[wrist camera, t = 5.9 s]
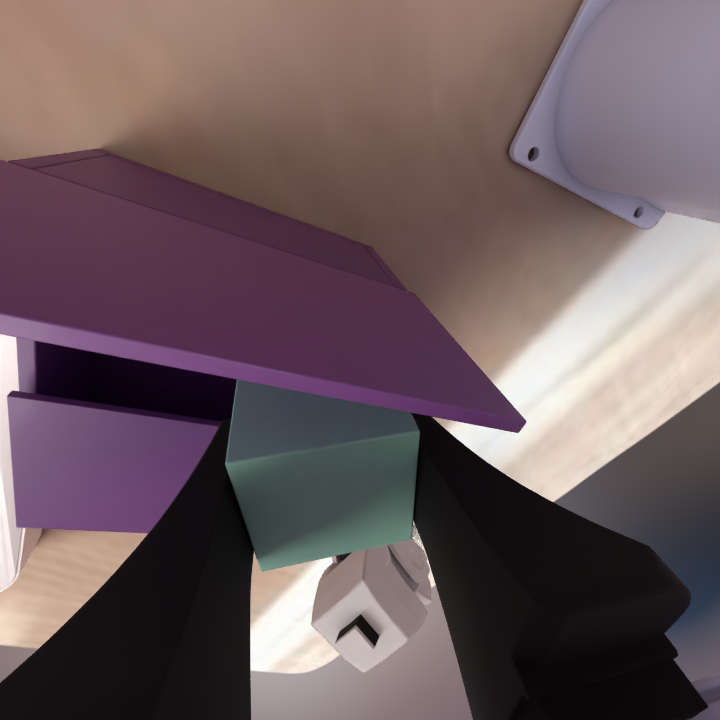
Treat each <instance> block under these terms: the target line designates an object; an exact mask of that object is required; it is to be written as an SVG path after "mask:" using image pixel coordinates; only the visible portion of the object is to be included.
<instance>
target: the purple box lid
mask: <svg viewBox="0 0 720 720" xmlns="http://www.w3.org/2000/svg"><path fill="white" fill-rule="evenodd" d="M0 334H2V335H7V336H12V337H18V338H23V339H28V340H33V341H39V342H44V343H49V344H54V345H60V346H65V347H70V348H75V349H81V350H86V351H91V352H96V353H102V354H107V355H112V356H117V357H122V358H128V359H133V360H138V361H143V362H149V363H154V364H159V365H164V366H170V367H175V368H180V369H185V370H191V371H196V372H201V373H206V374H212V375H217V376H222V377H227V378H233V379H238V380H243V381H248V382H254V383H259V384H264V385H269V386H275V387H280V388H285V389H290V390H296V391H301V392H306V393H311V394H316V395H322V396H327V397H332V398H337V399H343V400H348V401H353V402H358V403H364V404H369V405H374V406H379V407H385V408H390V409H395V410H400V411H406V412H411V413H416V414H421V415H427V416H432V417H437V418H442V419H448V420H453V421H458V422H463V423H469V424H474V425H479V426H484V427H489V428H495V429H500V430H505V431H510V432H516V433H518V432H520V430H521V429H522V428H523V426H524V425H525V423H526V420H525V419H524V418H523V417H522V416H521V415H520V413H519V412H518V411H517V410H516V409H515V408H514V407H513V405H512V404H511V403H510V402H509V401H508V400H507V399H506V397H505V396H504V395H503V394H502V393H501V392H500V391H499V389H498V388H497V387H496V386H495V385H494V384H493V383H492V382H491V380H490V379H489V378H488V377H487V376H486V375H485V374H484V372H483V371H482V370H481V369H480V368H479V367H478V366H477V364H476V363H475V362H474V361H473V360H472V359H471V358H470V356H469V355H468V354H467V353H466V352H465V351H464V350H463V349H462V347H461V346H460V345H459V344H458V343H457V342H456V341H455V339H454V338H453V337H452V336H451V335H450V334H449V333H448V331H447V330H446V329H445V328H444V327H443V326H442V325H441V324H440V322H439V321H438V320H437V319H436V318H435V317H434V316H433V314H432V313H431V312H430V311H429V310H428V309H427V308H426V306H425V305H424V304H423V303H422V302H421V301H420V300H419V298H418V297H417V296H416V295H415V294H414V293H411V292H408V291H405V290H401V289H398V288H395V287H392V286H389V285H386V284H383V283H380V282H377V281H374V280H371V279H367V278H364V277H361V276H358V275H355V274H352V273H349V272H346V271H343V270H340V269H337V268H334V267H330V266H327V265H324V264H321V263H318V262H315V261H312V260H309V259H306V258H303V257H300V256H296V255H293V254H290V253H287V252H284V251H281V250H278V249H275V248H272V247H269V246H266V245H262V244H259V243H256V242H253V241H250V240H247V239H244V238H241V237H238V236H235V235H232V234H229V233H225V232H222V231H219V230H216V229H213V228H210V227H207V226H204V225H201V224H198V223H195V222H191V221H188V220H185V219H182V218H179V217H176V216H173V215H170V214H167V213H164V212H161V211H157V210H154V209H151V208H148V207H145V206H142V205H139V204H136V203H133V202H130V201H127V200H123V199H120V198H117V197H114V196H111V195H108V194H105V193H102V192H99V191H96V190H93V189H90V188H86V187H83V186H80V185H77V184H74V183H71V182H68V181H65V180H62V179H59V178H56V177H52V176H49V175H46V174H43V173H40V172H37V171H34V170H31V169H28V168H25V167H22V166H18V165H15V164H12V163H9V162H6V161H3V160H0Z"/></svg>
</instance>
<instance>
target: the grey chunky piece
mask: <svg viewBox="0 0 720 720" xmlns="http://www.w3.org/2000/svg"><path fill="white" fill-rule="evenodd" d="M332 559H333V563H332V564H331V565H330V566H329V567H328V568H327V569H326V570H325V571H324V573H323V575H322V577H321V579H320V581H319V584H318V588H317V592H316V596H315V601H314V607H313V613H312V622H311V625H312V627H313V628H315V629H316V630H317V631H318V632H319V633H320V634H321V635H322V636H323V637H324V638H325V639H326V640H327V641H328V643H329V644H330V645H331V646H332V647H333V648H334V649H335V650H336V651H337V652H338V653H339V654H340V655H341V656H342V657H343V658H344V659H345V660H346V661H348V662H349V663H351V664H352V665H353V666H355V667H356V668H358V669H359V670H360V671H362V672H363V673H365V672H366V671H368V670H369V669H371V668H372V667H374V666H375V665H377V664H378V663H380V662H381V661H383V660H384V659H385V658H387V657H388V656H389V655H391V654H392V653H393V652H395V651H396V650H397V649H399V648H400V647H401V646H402V645H404V644H405V643H406V642H408V641H409V640H410V639H411V638H412V636H413V635H414V634H415V633H416V632H417V631H418V630H419V628H420V627H421V626H422V625H423V623H424V621H425V618H426V616H427V610H426V607H425V606H426V605H427V604H428V603H430V602H431V585H430V581H429V578H428V574H429V571H430V569H429V566H428V564H427V557H426V555H425V553H424V551H423V550H422V548H421V547H420V546H419V545H418V544H417V543H416V542H415V541H414V540H413V539H411V540H407V541H402V542H398V543H393V544H388V545H384V546H379V547H374V548H370V549H365V550H360V551H355V552H351V553H346V554H341V555H337V556H332Z"/></svg>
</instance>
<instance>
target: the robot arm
mask: <svg viewBox="0 0 720 720" xmlns="http://www.w3.org/2000/svg"><path fill="white" fill-rule="evenodd" d="M531 148H533V149H534V154H533V157H532V158H531V159H530V160H529V159H528V153H529V151H530V150H531ZM509 154H510V157H511V159H512V160H513V161H515V162H516V163H518V164H520V165H522V166H524V167H526V168H528V169H530V170H532V171H533V172H535V173H537V174H539V175H541V176H543V177H545V178H547V179H548V180H550V181H552V182H554V183H556V184H558V185H560V186H562V187H564V188H565V189H567V190H569V191H571V192H573V193H575V194H577V195H579V196H581V197H582V198H584V199H586V200H588V201H590V202H592V203H594V204H596V205H598V206H599V207H601V208H603V209H605V210H607V211H609V212H611V213H613V214H615V215H616V216H618V217H620V218H622V219H624V220H626V221H628V222H630V223H631V224H633V225H635V226H637V227H639V228H642V229H650V228H652V227H654V226H655V225H656V224H657V222H658V221H659V220H660V218H661V217H662V216H663V214H664V213H665V211H666V212H671V213H675V214H680V215H684V216H689V217H693V218H698V219H702V220H707V221H711V222H716V223H720V0H584V1H583V3H582V5H581V7H580V9H579V11H578V13H577V15H576V17H575V19H574V21H573V23H572V25H571V27H570V29H569V31H568V33H567V34H566V36H565V38H564V40H563V42H562V44H561V46H560V48H559V50H558V52H557V54H556V56H555V58H554V60H553V62H552V64H551V66H550V68H549V70H548V72H547V74H546V76H545V78H544V80H543V82H542V84H541V86H540V88H539V90H538V92H537V94H536V96H535V98H534V100H533V102H532V104H531V106H530V108H529V110H528V112H527V114H526V116H525V118H524V120H523V122H522V124H521V126H520V128H519V130H518V132H517V134H516V136H515V138H514V140H513V142H512V144H511V146H510V153H509ZM636 209H637V212H636V213H635V211H636ZM634 213H635V214H634ZM411 414H412V416H413V418H414V420H415V422H416V424H417V426H418V429H419V431H420V436H419V449H418V462H417V475H416V488H415V501H414V514H413V521H414V523H415V525H416V528H417V530H418V533H419V535H420V537H421V540H422V543H423V546H424V548H425V551H426V554H427V557H428V560H429V564H430V567H431V570H432V574H433V577H434V580H435V583H436V587H437V590H438V593H439V597H440V600H441V604H442V607H443V610H444V614H445V617H446V621H447V623H448V628H449V631H450V635H451V638H452V642H453V646H454V649H455V653H456V656H457V660H458V664H459V667H460V671H461V675H462V678H463V683H464V686H465V690H466V694H467V698H468V702H469V706H470V710H471V713H472V717H473V720H720V673H719V674H716V675H713V676H710V677H706V678H703V679H700V680H696V681H693V682H690V681H689V680H688V679H687V677H686V676H685V674H684V673H683V672H682V670H681V669H680V668H679V666H678V665H677V664H676V662H675V661H674V660H673V659H674V658H676V657H677V656H678V653H677V650H676V649H675V647H674V646H673V645H672V643H671V642H670V641H669V639H668V638H667V637H666V635H665V634H664V633H665V632H666V631H667V630H668V629H669V628H670V627H671V626H672V625H673V624H674V623H675V621H677V620H678V619H679V617H680V616H681V615H682V614H683V613H684V612H685V610H686V609H687V608H688V607H689V604H690V600H691V593H690V591H689V590H688V588H687V587H686V586H685V585H684V584H683V583H682V582H681V580H680V579H679V578H678V577H677V576H676V575H675V574H674V573H673V571H672V570H671V569H670V568H669V567H668V566H667V565H666V564H665V562H664V561H663V560H662V559H661V558H660V557H659V556H658V555H657V554H656V553H655V552H654V551H653V550H652V549H651V548H650V547H649V546H647V545H645V544H643V543H640V542H638V541H636V540H633V539H631V538H628V537H626V536H624V535H622V534H619V533H617V532H614V531H612V530H609V529H607V528H605V527H603V526H600V525H598V524H596V523H594V522H591V521H589V520H587V519H585V518H583V517H581V516H579V515H577V514H575V513H573V512H571V511H569V510H567V509H565V508H563V507H561V506H559V505H557V504H555V503H553V502H551V501H549V500H548V499H546V498H544V497H542V496H540V495H539V494H537V493H535V492H533V491H532V490H530V489H528V488H526V487H525V486H523V485H521V484H520V483H518V482H516V481H515V480H513V479H511V478H510V477H508V476H507V475H505V474H504V473H502V472H501V471H499V470H498V469H496V468H495V467H493V466H492V465H490V464H489V463H487V462H486V461H484V460H483V459H482V458H480V457H479V456H478V455H476V454H475V453H474V452H473V451H471V450H470V449H469V448H467V447H466V446H465V445H464V444H462V443H461V442H460V441H459V440H457V439H456V438H455V437H454V436H453V435H452V434H450V433H449V432H448V431H447V430H446V429H445V428H443V427H442V426H441V425H440V424H439V423H438V422H437V421H436V420H434V419H433V418H432V417H431V416H427V415H421V414H416V413H411ZM230 426H231V419H224V420H223V421H222V422H221V424H220V426H219V427H218V429H217V431H216V433H215V435H214V437H213V438H212V440H211V442H210V444H209V446H208V447H207V449H206V451H205V452H204V454H203V456H202V457H201V459H200V461H199V462H198V464H197V465H196V467H195V469H194V470H193V472H192V473H191V475H190V477H189V478H188V480H187V481H186V483H185V484H184V486H183V487H182V489H181V490H180V491H179V493H178V494H177V496H176V497H175V499H174V500H173V501H172V503H171V504H170V506H169V507H168V509H167V510H166V511H165V513H164V514H163V515H162V517H161V518H160V519H159V521H158V522H157V523H156V524H155V526H154V527H153V528H152V530H151V531H150V532H149V533H148V535H147V536H146V537H145V538H144V539H143V541H142V542H141V543H140V544H139V546H138V547H137V548H136V549H135V550H134V551H133V553H132V554H131V555H130V556H129V557H128V558H127V559H126V560H125V562H124V563H123V564H122V565H121V566H120V567H119V568H118V570H117V571H116V572H115V573H114V574H113V575H112V576H111V577H110V578H109V579H108V581H107V582H106V583H105V584H104V585H103V586H102V587H101V588H100V589H99V590H98V591H97V592H96V593H95V594H94V595H93V596H92V597H91V598H90V599H89V600H88V601H87V602H86V603H85V604H84V605H83V606H82V607H81V608H80V609H79V610H78V611H77V612H76V613H75V614H74V615H73V616H72V617H71V618H70V619H69V620H68V621H67V622H66V623H65V624H64V625H63V626H62V627H61V628H60V629H59V630H58V631H57V632H56V633H55V634H54V635H53V636H52V637H51V638H50V639H49V640H48V641H47V642H45V643H44V644H43V645H42V646H41V647H40V648H39V649H38V650H37V651H36V652H35V653H34V654H32V656H30V657H29V658H28V659H27V660H26V661H25V662H23V663H22V664H21V665H20V666H19V667H18V668H17V669H16V670H14V671H13V672H12V673H11V674H10V675H9V676H8V677H7V678H6V679H4V680H3V681H2V682H1V683H0V720H251V690H250V689H251V688H250V590H251V574H252V564H253V554H254V549H253V546H252V543H251V540H250V537H249V534H248V531H247V528H246V525H245V522H244V519H243V516H242V513H241V510H240V507H239V504H238V501H237V498H236V495H235V492H234V489H233V486H232V483H231V480H230V477H229V474H228V471H227V468H226V465H225V462H226V454H227V447H228V440H229V433H230Z"/></svg>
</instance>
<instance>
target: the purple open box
mask: <svg viewBox="0 0 720 720" xmlns="http://www.w3.org/2000/svg"><path fill="white" fill-rule="evenodd" d="M8 162H9V163H12V164H15V165H18V166H22V167H25V168H28V169H31V170H34V171H37V172H40V173H43V174H46V175H49V176H52V177H56V178H59V179H62V180H65V181H68V182H71V183H74V184H77V185H80V186H83V187H86V188H90V189H93V190H96V191H99V192H102V193H105V194H108V195H111V196H114V197H117V198H120V199H123V200H127V201H130V202H133V203H136V204H139V205H142V206H145V207H148V208H151V209H154V210H157V211H161V212H164V213H167V214H170V215H173V216H176V217H179V218H182V219H185V220H188V221H191V222H195V223H198V224H201V225H204V226H207V227H210V228H213V229H216V230H219V231H222V232H225V233H229V234H232V235H235V236H238V237H241V238H244V239H247V240H250V241H253V242H256V243H259V244H262V245H266V246H269V247H272V248H275V249H278V250H281V251H284V252H287V253H290V254H293V255H296V256H300V257H303V258H306V259H309V260H312V261H315V262H318V263H321V264H324V265H327V266H330V267H334V268H337V269H340V270H343V271H346V272H349V273H352V274H355V275H358V276H361V277H364V278H367V279H371V280H374V281H377V282H380V283H383V284H386V285H389V286H392V287H395V288H398V289H401V290H405V291H407V290H406V289H405V287H404V286H403V285H402V284H401V283H400V281H399V280H398V279H397V278H396V276H395V275H394V274H393V273H392V271H391V270H390V269H389V268H388V266H387V265H386V264H385V263H384V262H383V260H382V259H381V258H380V257H379V255H378V254H377V253H376V252H375V250H374V249H373V248H372V247H371V246H368V245H365V244H362V243H360V242H357V241H354V240H351V239H348V238H346V237H343V236H340V235H337V234H334V233H332V232H329V231H326V230H323V229H321V228H318V227H315V226H312V225H309V224H307V223H304V222H301V221H298V220H295V219H293V218H290V217H287V216H284V215H282V214H279V213H276V212H273V211H270V210H268V209H265V208H262V207H259V206H256V205H254V204H251V203H248V202H245V201H243V200H240V199H237V198H234V197H231V196H229V195H226V194H223V193H220V192H217V191H215V190H212V189H209V188H206V187H204V186H201V185H198V184H195V183H192V182H190V181H187V180H184V179H181V178H178V177H176V176H173V175H170V174H167V173H164V172H162V171H159V170H156V169H153V168H151V167H148V166H145V165H142V164H139V163H137V162H134V161H131V160H128V159H125V158H123V157H120V156H117V155H114V154H112V153H109V152H106V151H103V150H100V149H93V150H85V151H77V152H70V153H63V154H56V155H48V156H41V157H34V158H27V159H20V160H12V161H8ZM16 343H17V362H18V381H19V391H14V390H13V391H11V392H10V393H9V394H8V395H7V404H8V418H9V432H10V446H11V460H12V474H13V488H14V502H15V515H16V527H17V528H40V529H63V530H86V531H108V532H131V533H149V532H150V531H151V530H152V528H153V527H154V526H155V524H156V523H157V522H158V521H159V519H160V518H161V517H162V515H163V514H164V513H165V511H166V510H167V509H168V507H169V506H170V504H171V503H172V501H173V500H174V499H175V497H176V496H177V494H178V493H179V491H180V490H181V489H182V487H183V486H184V484H185V483H186V481H187V480H188V478H189V477H190V475H191V473H192V472H193V470H194V469H195V467H196V465H197V464H198V462H199V461H200V459H201V457H202V456H203V454H204V452H205V451H206V449H207V447H208V446H209V444H210V442H211V440H212V438H213V437H214V435H215V433H216V431H217V429H218V427H219V426H220V424H221V422H222V421H223V420H224V419H231V418H232V411H233V404H234V397H235V390H236V382H237V379H233V378H227V377H222V376H217V375H212V374H206V373H201V372H196V371H191V370H185V369H180V368H175V367H170V366H164V365H159V364H154V363H149V362H143V361H138V360H133V359H128V358H122V357H117V356H112V355H107V354H102V353H96V352H91V351H86V350H81V349H75V348H70V347H65V346H60V345H54V344H49V343H44V342H39V341H33V340H28V339H23V338H18V337H16Z"/></svg>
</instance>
